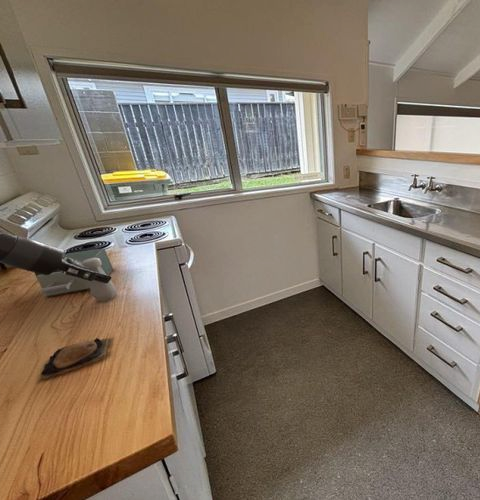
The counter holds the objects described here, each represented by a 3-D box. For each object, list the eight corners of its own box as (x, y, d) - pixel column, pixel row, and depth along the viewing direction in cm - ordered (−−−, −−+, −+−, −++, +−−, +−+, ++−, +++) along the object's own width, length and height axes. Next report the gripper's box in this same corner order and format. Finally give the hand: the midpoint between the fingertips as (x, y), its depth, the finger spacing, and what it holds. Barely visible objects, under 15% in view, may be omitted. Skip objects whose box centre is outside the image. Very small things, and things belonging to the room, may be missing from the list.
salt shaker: (90, 301, 85) (71, 262, 80) (110, 291, 90) (93, 254, 85) (103, 304, 83) (85, 264, 78) (122, 294, 88) (107, 256, 83)
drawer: (83, 296, 86) (74, 277, 83) (34, 306, 82) (23, 285, 80) (108, 270, 103) (100, 253, 100) (68, 276, 99) (59, 259, 96)
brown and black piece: (110, 339, 69) (104, 326, 67) (105, 360, 62) (98, 347, 61) (51, 357, 64) (44, 344, 62) (39, 382, 57) (30, 368, 56)
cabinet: (96, 288, 92) (85, 264, 89) (47, 297, 88) (33, 272, 85) (113, 269, 105) (104, 248, 102) (71, 276, 101) (60, 254, 98)
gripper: (49, 248, 69) (120, 270, 82) (35, 238, 77) (103, 260, 90) (29, 276, 67) (105, 294, 80) (16, 263, 75) (88, 282, 88)
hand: (104, 276), depth 85 cm, fingers open, 8 cm apart
